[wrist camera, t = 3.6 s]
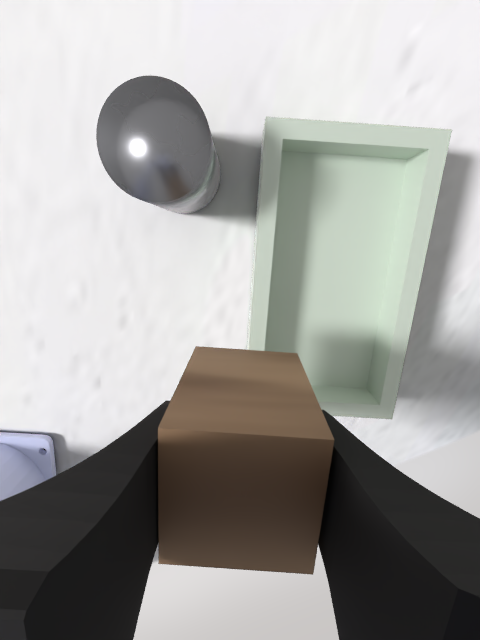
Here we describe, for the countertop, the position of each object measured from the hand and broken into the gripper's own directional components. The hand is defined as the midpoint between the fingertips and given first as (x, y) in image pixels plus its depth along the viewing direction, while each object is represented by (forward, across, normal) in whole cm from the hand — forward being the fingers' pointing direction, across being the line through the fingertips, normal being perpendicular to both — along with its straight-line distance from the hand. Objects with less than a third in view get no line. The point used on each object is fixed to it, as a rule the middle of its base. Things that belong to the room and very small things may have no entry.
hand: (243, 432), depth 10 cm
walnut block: (+3, 0, 0) cm, 3 cm away
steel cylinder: (+9, +4, -9) cm, 13 cm away
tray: (+9, -4, -4) cm, 10 cm away
